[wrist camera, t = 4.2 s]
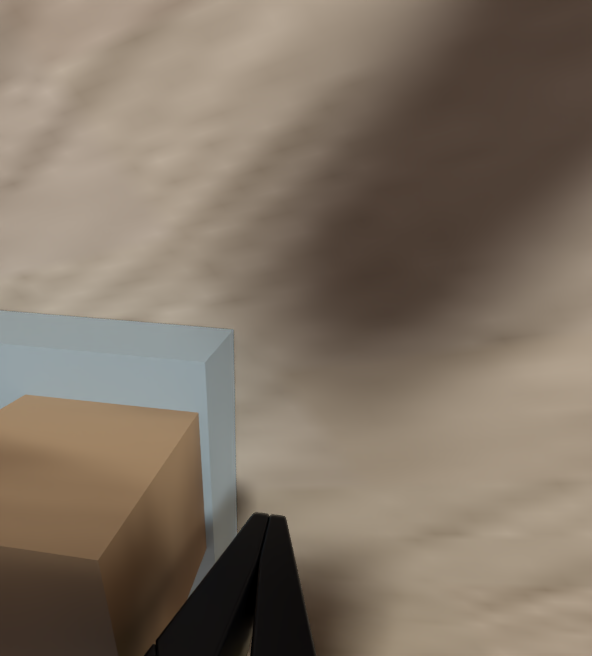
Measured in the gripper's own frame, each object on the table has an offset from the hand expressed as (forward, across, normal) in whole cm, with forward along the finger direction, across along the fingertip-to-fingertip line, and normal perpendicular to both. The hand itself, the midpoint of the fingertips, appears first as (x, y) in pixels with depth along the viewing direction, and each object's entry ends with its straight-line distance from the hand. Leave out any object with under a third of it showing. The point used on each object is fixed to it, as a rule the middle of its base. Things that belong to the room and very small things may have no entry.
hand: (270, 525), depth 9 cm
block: (+1, +5, 0) cm, 5 cm away
